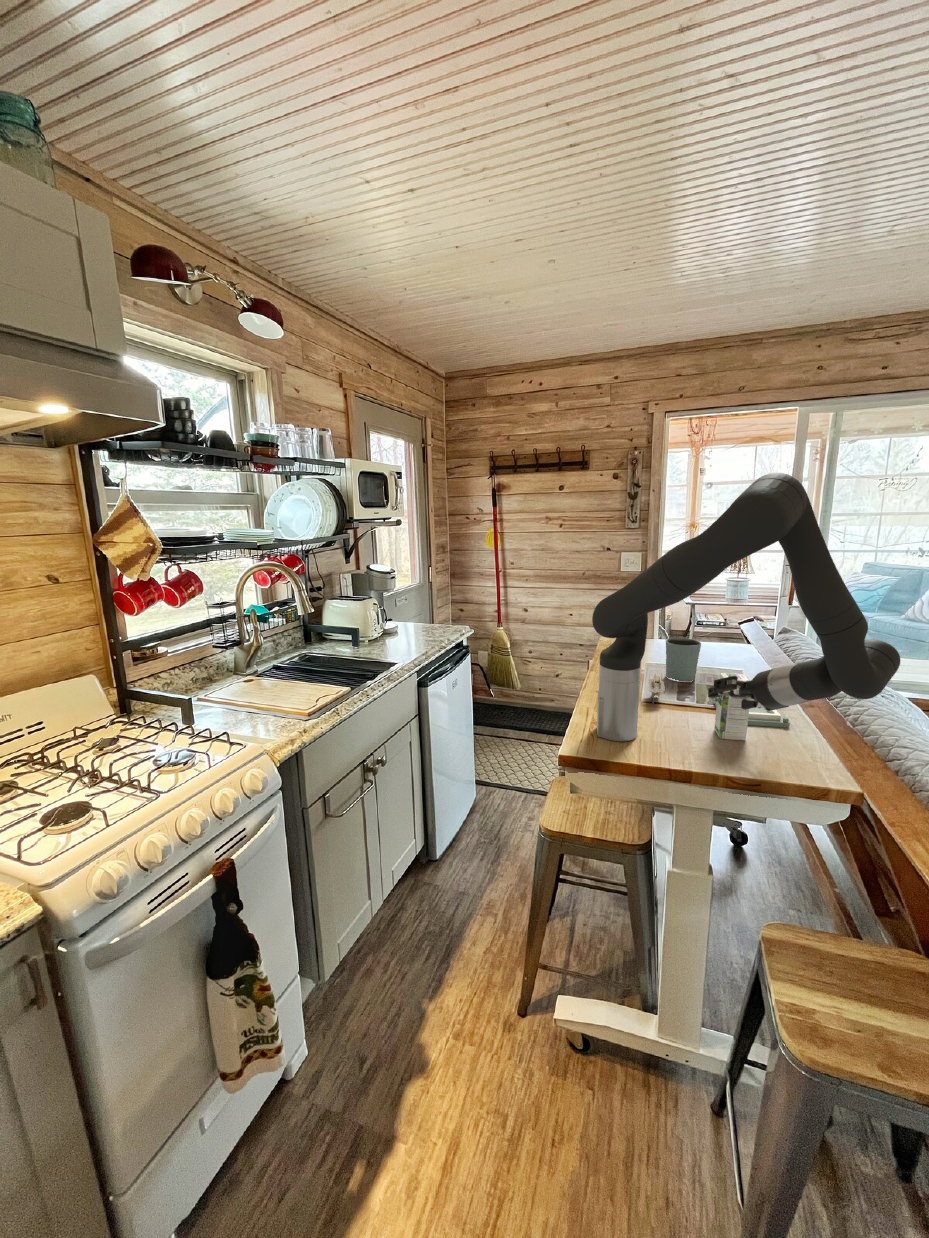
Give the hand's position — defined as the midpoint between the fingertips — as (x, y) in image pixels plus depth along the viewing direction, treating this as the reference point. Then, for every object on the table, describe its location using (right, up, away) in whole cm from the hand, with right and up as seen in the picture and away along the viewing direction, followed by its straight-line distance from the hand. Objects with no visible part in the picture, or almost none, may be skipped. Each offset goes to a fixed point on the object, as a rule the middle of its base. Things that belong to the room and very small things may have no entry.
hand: (726, 699), depth 116 cm
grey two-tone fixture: (-5, -6, +30) cm, 31 cm away
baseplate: (+15, -7, +19) cm, 25 cm away
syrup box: (+5, -10, +7) cm, 13 cm away
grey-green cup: (+10, -1, +48) cm, 49 cm away
